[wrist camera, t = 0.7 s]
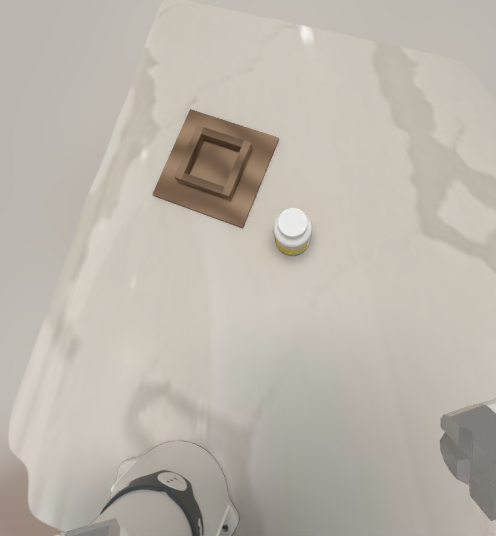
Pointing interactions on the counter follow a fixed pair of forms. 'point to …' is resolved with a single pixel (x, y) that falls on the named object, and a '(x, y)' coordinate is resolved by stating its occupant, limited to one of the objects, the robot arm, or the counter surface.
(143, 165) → the counter surface
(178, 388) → the counter surface
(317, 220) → the counter surface
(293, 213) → the supplement bottle
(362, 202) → the counter surface
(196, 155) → the walnut can holder
